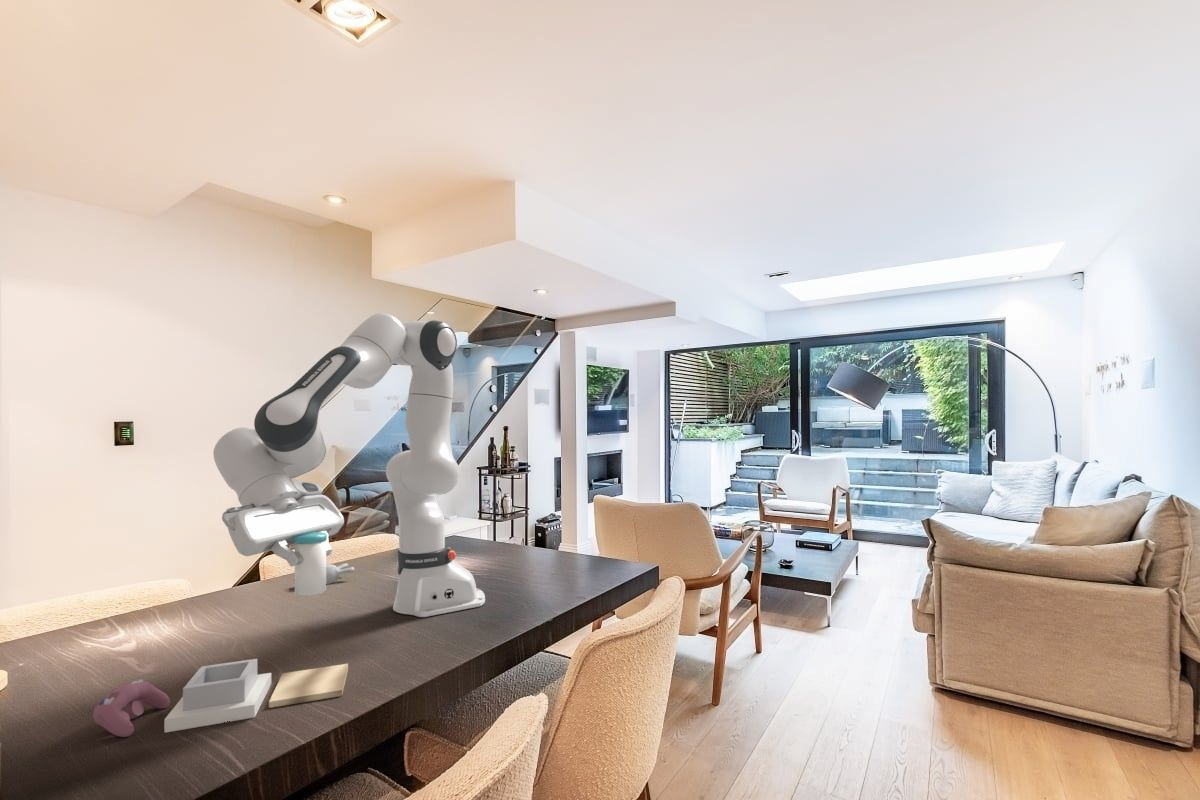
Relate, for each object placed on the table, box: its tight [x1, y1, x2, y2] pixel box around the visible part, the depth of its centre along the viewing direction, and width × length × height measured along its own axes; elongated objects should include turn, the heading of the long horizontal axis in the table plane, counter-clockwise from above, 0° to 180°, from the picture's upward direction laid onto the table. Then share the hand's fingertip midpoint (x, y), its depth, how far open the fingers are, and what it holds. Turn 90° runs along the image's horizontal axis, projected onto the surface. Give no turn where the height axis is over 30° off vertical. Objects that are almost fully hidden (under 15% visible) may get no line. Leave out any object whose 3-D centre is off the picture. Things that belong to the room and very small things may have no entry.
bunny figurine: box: [293, 562, 356, 585], centre depth 163 cm, size 10×5×15 cm
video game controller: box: [92, 678, 171, 738], centre depth 89 cm, size 10×5×7 cm, turn 6°
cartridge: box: [294, 532, 327, 597], centre depth 100 cm, size 5×5×10 cm
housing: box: [163, 658, 272, 733], centre depth 93 cm, size 12×12×6 cm
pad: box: [268, 663, 349, 709], centre depth 99 cm, size 11×11×1 cm
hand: (313, 558), depth 100 cm, fingers closed on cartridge, 5 cm apart
